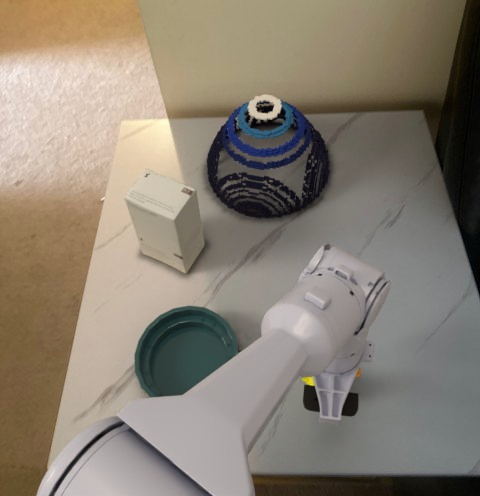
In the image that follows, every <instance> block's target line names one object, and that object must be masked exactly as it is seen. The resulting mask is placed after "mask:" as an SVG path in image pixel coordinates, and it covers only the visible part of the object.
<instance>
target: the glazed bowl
mask: <svg viewBox="0 0 480 496" xmlns="http://www.w3.org/2000/svg"><path fill="white" fill-rule="evenodd" d="M239 353H240V349H239V345H238V340H237V336H236V334H235V332H234V330H233V329H232V327H231V325H230V323H229V322H228V321H226V319H224V318H223V317H222V316H221V315H220V314H219V313H217V312H216V311H213V310H212V309H210V308H208V307H204V306H196V305H185V306H179V307H172V309H170V310H167V311H165V312H163V313H162V314H159V315H158V316H157V317H155V319H154V320H153V321H151V322H150V323H149V324H148V325H147V326H146V328H145V329H144V331H143V333H141V335H140V337H139V339H138V341H137V344H136V348H135V352H134V355H133V356H134V357H133V358H134V359H133V360H134V374H135V377H136V378H137V379H136V380H137V381H138V383H139V386H140V388H141V390H142V391H143V392H144V394H145V395H146V397H147V398H151V397H164V396H177V395H183V394H185V393H186V392H187V391H189V390H190V389H191V388H193V387H194V386H195V385H197V384H198V383H200V382H201V381H202V380H204V379H205V378H206V377H208V376H209V375H210V374H212V373H213V372H214V371H216V370H217V369H218V368H220V367H221V366H222V365H224V364H225V363H227V362H228V361H229V360H231V359H232V358H233V357H235V356H236V355H237V354H239Z"/></svg>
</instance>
